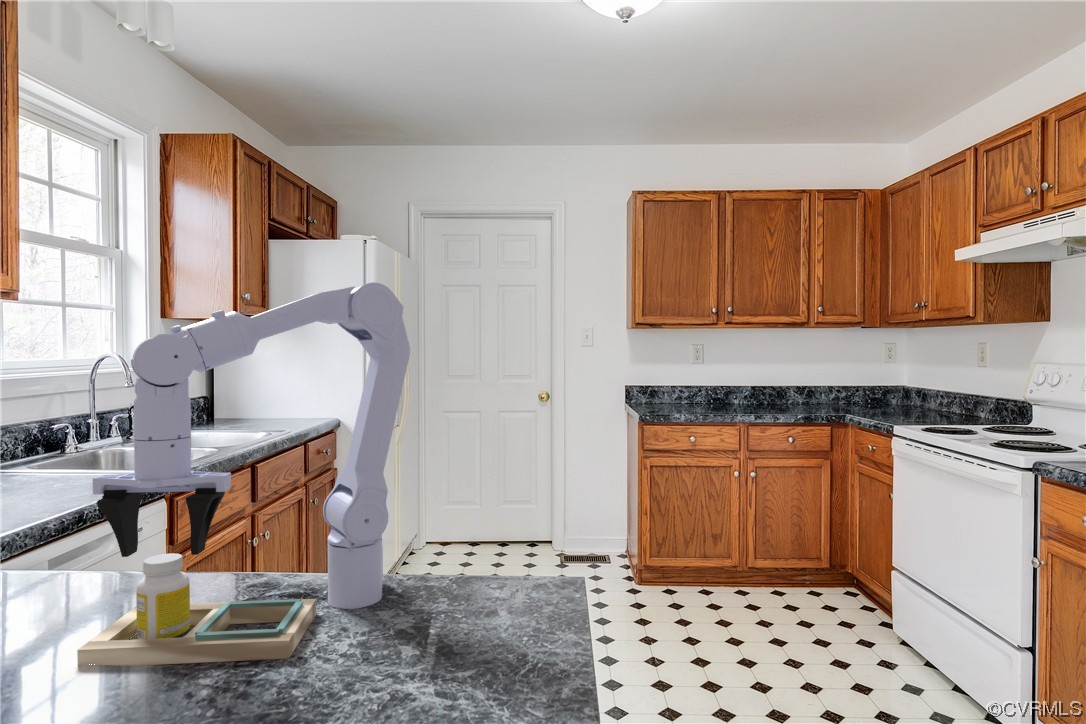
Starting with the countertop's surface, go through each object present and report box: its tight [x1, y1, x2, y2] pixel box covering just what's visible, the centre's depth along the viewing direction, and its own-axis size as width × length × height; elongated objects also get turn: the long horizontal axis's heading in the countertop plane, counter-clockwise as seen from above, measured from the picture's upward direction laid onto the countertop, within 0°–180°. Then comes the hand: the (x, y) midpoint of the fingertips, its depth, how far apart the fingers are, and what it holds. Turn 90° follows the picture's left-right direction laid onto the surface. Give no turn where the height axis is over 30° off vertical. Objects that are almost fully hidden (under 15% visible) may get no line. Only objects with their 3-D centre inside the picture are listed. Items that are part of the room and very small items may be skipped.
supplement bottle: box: [135, 552, 191, 639], centre depth 75 cm, size 5×5×10 cm
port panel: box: [76, 598, 318, 667], centre depth 75 cm, size 12×22×2 cm, turn 96°
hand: (164, 553), depth 74 cm, fingers open, 7 cm apart
